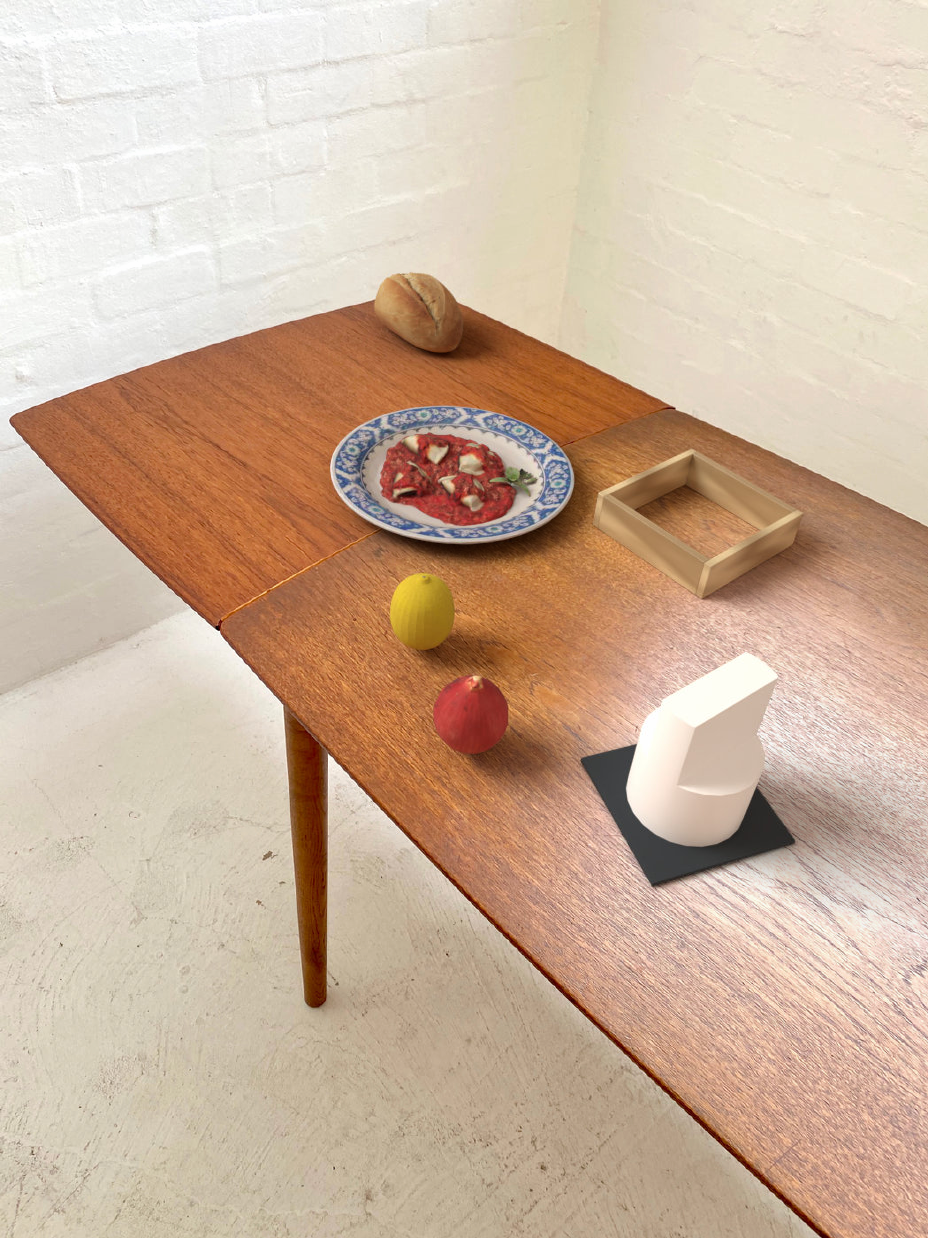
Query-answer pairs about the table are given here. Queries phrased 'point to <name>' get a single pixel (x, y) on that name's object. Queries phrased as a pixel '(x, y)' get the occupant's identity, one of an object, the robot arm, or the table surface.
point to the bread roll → (420, 311)
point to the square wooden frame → (675, 555)
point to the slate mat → (673, 859)
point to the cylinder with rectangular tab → (702, 755)
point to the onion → (471, 714)
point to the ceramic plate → (452, 474)
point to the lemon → (422, 611)
